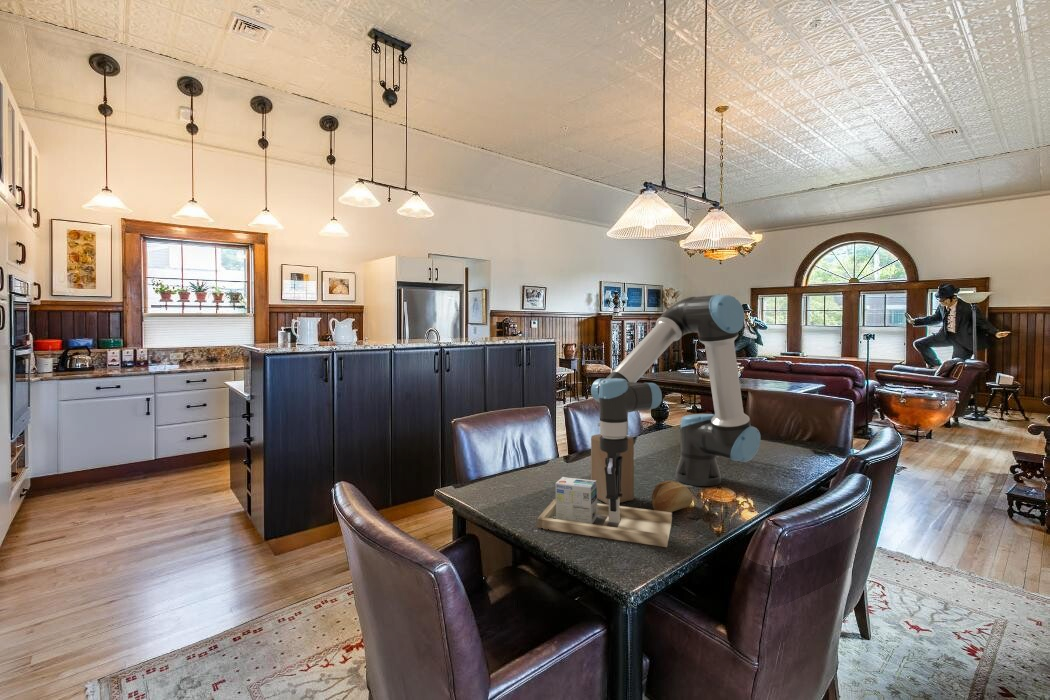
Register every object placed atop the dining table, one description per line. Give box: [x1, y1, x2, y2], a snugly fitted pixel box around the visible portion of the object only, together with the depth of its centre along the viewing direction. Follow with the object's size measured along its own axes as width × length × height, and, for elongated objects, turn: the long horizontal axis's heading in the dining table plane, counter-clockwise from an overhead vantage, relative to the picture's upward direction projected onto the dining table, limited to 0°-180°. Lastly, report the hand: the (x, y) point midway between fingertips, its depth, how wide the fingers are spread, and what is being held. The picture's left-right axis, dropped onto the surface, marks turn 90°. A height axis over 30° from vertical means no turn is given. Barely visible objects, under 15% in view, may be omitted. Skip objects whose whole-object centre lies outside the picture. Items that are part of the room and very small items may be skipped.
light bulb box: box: [554, 476, 598, 524], centre depth 135 cm, size 11×7×11 cm, turn 67°
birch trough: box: [536, 497, 673, 548], centre depth 131 cm, size 34×17×3 cm, turn 69°
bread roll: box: [651, 480, 694, 513], centre depth 141 cm, size 10×15×8 cm, turn 130°
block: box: [590, 433, 635, 505], centre depth 150 cm, size 10×10×20 cm
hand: (614, 521), depth 130 cm, fingers closed
